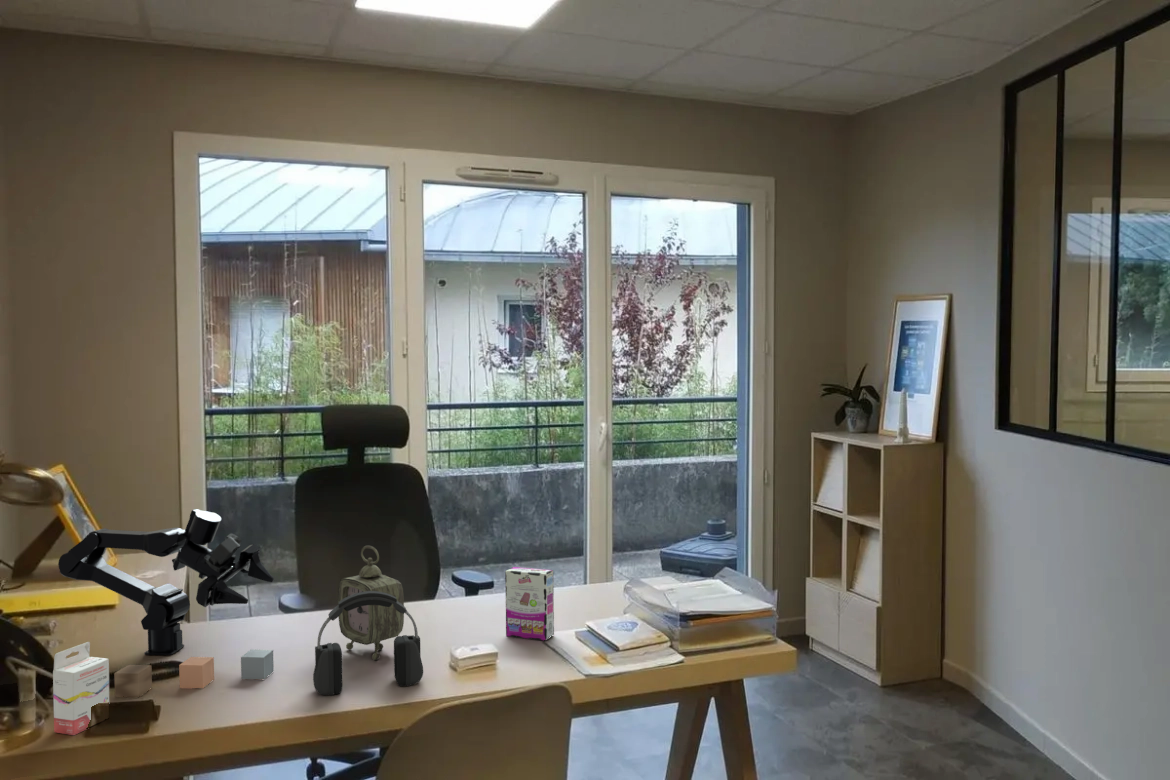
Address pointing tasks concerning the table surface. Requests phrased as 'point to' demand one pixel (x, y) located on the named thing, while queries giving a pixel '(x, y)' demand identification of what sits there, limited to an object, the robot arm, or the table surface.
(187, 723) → the table surface
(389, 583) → the tabletop clock
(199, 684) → the terracotta cube
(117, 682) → the walnut cube
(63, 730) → the ink cartridge box
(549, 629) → the candy bar box
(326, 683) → the headphones
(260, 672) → the slate grey cube
